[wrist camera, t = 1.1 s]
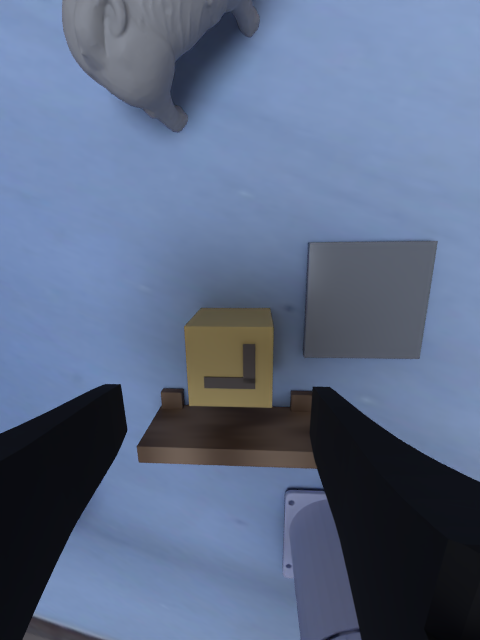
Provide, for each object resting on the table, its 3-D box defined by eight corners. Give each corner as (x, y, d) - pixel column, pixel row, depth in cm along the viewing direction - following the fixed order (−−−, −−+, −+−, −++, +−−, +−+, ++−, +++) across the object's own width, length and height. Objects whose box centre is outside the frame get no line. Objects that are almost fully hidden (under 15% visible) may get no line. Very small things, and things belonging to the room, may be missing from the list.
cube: (268, 371, 22) (272, 408, 17) (204, 370, 22) (188, 406, 17) (269, 307, 21) (273, 327, 16) (201, 307, 21) (183, 326, 16)
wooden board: (314, 391, 22) (330, 432, 17) (311, 436, 23) (326, 487, 18) (160, 388, 23) (134, 427, 18) (164, 432, 24) (140, 480, 19)
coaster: (414, 355, 21) (419, 358, 20) (303, 354, 21) (304, 357, 21) (432, 241, 19) (437, 241, 18) (308, 242, 19) (309, 242, 19)
